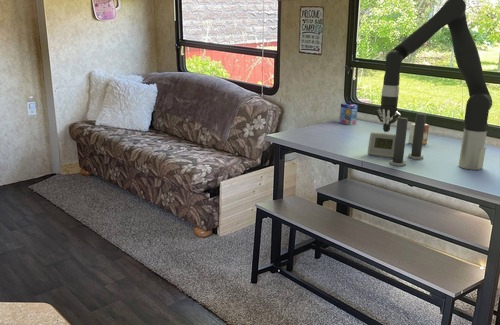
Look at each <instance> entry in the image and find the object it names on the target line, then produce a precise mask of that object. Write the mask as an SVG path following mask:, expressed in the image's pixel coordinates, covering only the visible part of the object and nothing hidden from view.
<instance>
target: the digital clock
mask: <svg viewBox="0 0 500 325" xmlns="http://www.w3.org/2000/svg"><path fill="white" fill-rule="evenodd" d="M369 135H370V136H369V140H368V146H367V154H368V155H371V156H375V157H382V158H388V159H389V158H390V159H393V155H394V146H395V137H396V133H395V134H391V133H387V132H375V131H374V132H370V134H369Z"/></svg>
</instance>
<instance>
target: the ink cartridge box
mask: <svg viewBox="0 0 500 325" xmlns="http://www.w3.org/2000/svg"><path fill="white" fill-rule="evenodd" d="M358 106H359V105H358V104H353V103H352V102H351V101H350V100H345V102H344V103H340V112H339V124H340V123H341V124H344V125H348V126H355V125H358V124H357V122H358Z"/></svg>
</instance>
